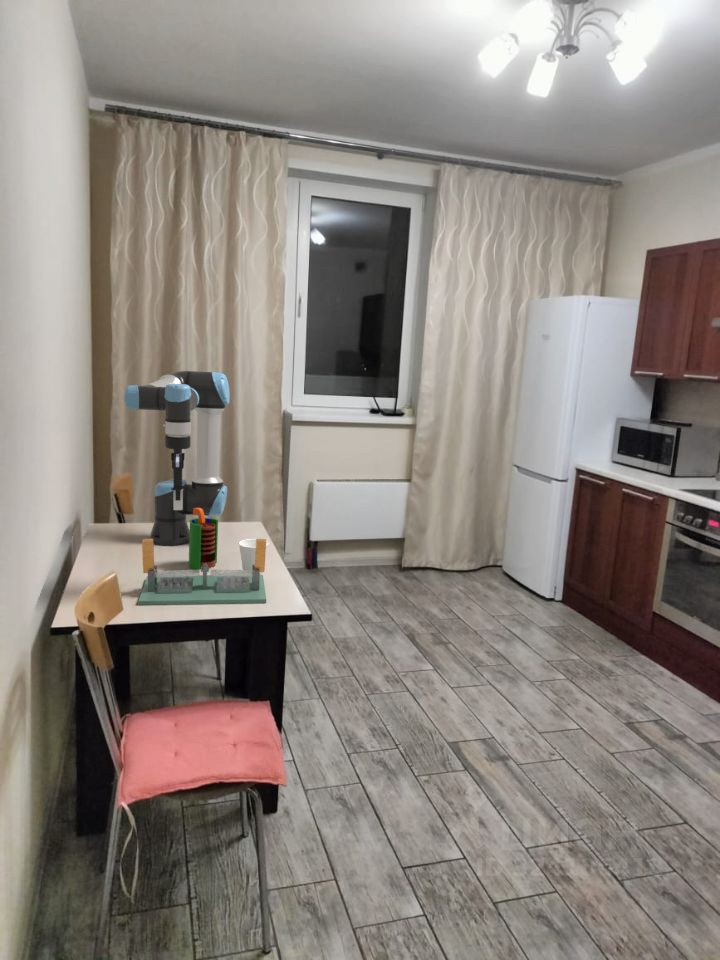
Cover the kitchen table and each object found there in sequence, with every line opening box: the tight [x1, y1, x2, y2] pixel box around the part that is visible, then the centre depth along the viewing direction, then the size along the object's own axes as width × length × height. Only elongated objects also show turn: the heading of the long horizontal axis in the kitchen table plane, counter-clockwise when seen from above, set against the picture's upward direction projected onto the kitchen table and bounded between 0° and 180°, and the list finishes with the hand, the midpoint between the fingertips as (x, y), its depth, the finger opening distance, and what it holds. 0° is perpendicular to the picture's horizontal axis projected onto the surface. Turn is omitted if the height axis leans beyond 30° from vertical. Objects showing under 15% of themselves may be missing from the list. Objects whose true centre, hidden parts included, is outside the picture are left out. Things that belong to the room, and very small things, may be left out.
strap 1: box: [141, 538, 201, 578], centre depth 213 cm, size 16×3×12 cm, turn 100°
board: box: [138, 574, 267, 606], centre depth 217 cm, size 22×37×1 cm, turn 101°
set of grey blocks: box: [147, 563, 260, 594], centre depth 216 cm, size 10×33×7 cm, turn 101°
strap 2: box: [209, 538, 267, 577], centre depth 217 cm, size 16×3×12 cm, turn 101°
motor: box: [188, 508, 219, 571], centre depth 239 cm, size 10×9×20 cm
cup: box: [238, 538, 269, 575], centre depth 233 cm, size 10×10×11 cm
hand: (178, 509), depth 218 cm, fingers closed
